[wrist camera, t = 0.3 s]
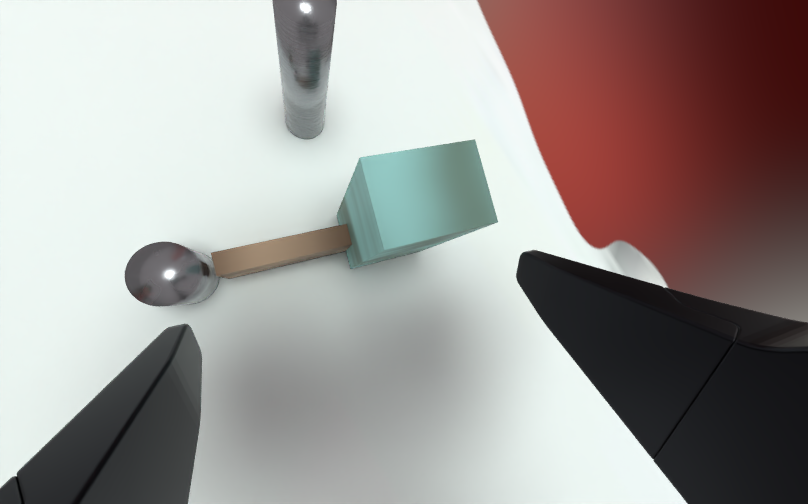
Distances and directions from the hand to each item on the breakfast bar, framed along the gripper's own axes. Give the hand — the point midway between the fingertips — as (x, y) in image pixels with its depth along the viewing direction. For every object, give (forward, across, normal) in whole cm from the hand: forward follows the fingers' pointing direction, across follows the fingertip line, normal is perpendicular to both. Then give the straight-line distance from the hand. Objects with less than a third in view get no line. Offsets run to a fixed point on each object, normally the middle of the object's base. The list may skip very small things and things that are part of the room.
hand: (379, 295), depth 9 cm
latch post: (+18, 0, -2) cm, 18 cm away
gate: (+12, 0, +5) cm, 13 cm away
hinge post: (+12, +8, +6) cm, 16 cm away
